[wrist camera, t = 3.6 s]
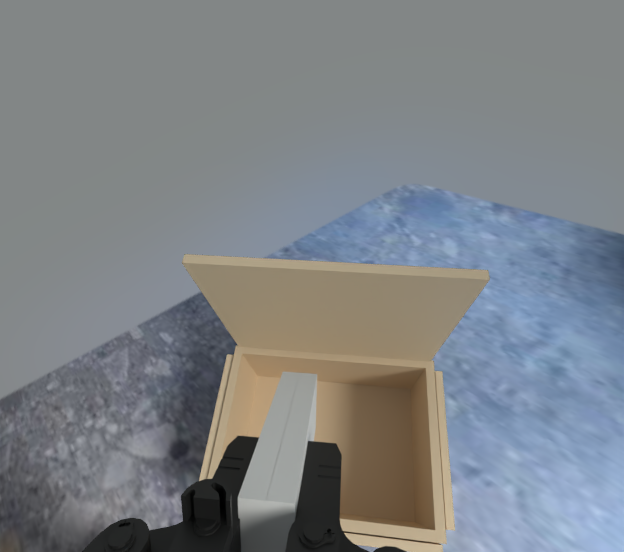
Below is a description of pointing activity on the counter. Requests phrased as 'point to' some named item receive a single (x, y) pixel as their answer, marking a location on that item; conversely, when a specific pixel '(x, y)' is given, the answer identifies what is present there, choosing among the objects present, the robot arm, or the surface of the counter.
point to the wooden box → (357, 437)
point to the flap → (336, 304)
